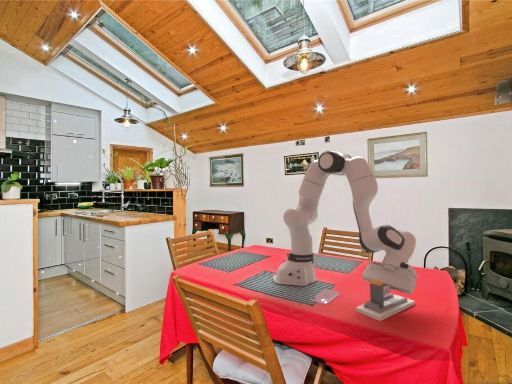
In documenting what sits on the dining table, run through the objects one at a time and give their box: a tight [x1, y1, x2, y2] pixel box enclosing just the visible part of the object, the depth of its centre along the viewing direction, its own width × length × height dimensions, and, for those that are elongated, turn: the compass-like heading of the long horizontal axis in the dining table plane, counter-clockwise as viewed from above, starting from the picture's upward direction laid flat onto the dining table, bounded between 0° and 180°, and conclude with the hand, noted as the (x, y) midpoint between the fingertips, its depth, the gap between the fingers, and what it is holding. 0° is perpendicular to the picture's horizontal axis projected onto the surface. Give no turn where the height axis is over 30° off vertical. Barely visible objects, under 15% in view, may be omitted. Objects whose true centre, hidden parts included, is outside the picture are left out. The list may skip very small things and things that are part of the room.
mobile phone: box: [310, 288, 340, 305], centre depth 122 cm, size 8×1×15 cm
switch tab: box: [369, 279, 384, 308], centre depth 106 cm, size 3×4×10 cm, turn 33°
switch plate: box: [355, 292, 416, 322], centre depth 109 cm, size 24×10×4 cm, turn 123°
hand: (379, 295), depth 107 cm, fingers closed, pressing on switch tab
